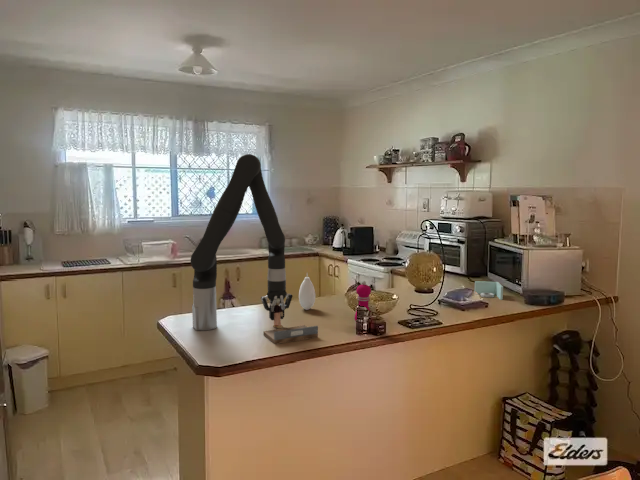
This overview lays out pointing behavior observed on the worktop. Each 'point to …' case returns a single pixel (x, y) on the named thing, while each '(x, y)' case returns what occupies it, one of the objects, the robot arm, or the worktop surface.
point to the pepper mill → (363, 296)
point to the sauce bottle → (307, 294)
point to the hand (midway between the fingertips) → (276, 319)
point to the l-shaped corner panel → (489, 289)
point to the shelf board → (270, 336)
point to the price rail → (295, 332)
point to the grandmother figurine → (277, 314)
